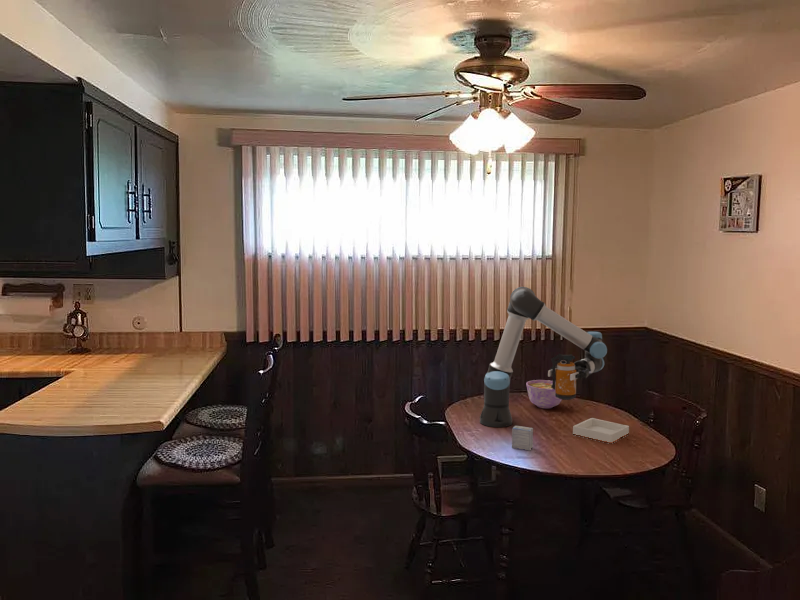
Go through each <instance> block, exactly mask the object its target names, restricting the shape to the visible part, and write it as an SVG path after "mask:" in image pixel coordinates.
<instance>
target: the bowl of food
mask: <svg viewBox="0 0 800 600" xmlns="http://www.w3.org/2000/svg"><path fill="white" fill-rule="evenodd" d="M552 382H553V380H549V379H548V380H545V379H536V380H535V379H533V380H529V381H526V389H527V395H528V398H529V401H530V402H531V403H532V404H533V405H535V406H537V407H538V408H539V409H552V408H553V407H556V406H558V405H559V404H560V403H561V402H562V400H563V399H559V398H557V397H556V396H555V390H554V389H553V388H551V386H552ZM555 383H556V380H555Z"/></svg>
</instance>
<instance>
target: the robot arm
mask: <svg viewBox="0 0 800 600" xmlns="http://www.w3.org/2000/svg"><path fill="white" fill-rule="evenodd" d="M506 309H507V310H506V312H507V314H508V317H507V319H506V323H505V326H504V329H503V333H502V334H501V335H502V336H501V339H500V341H499V345H498V348H497V350H496V351H497V352H496V354H495V357H494V360H493V362H490V363H489V365H488V370H487V372H486V373H485V376H484V378H483V381H484V391H483V392H484V395H483V408H482V410H481V413H480V416H479V423H480V424H481V425H483V426H486V427H490V428H491V427H493V428H505V427H510V426H512V424H513V418H512V413H511V411H510V386H511V385H510V384H511V378H512V375H513V372H514V371H513V368H512V365H513V362H514V359H515V356H516V353H517V349H518V346H519V343H520V341H521V338H522V334H523V332H524V331H523V330H524V328H525V325H526V323H527V321H528V320H529V319H530V320H532V321H537V322H539V323H540V324H542V325H544V326H546V327H547V328H548V329H550V330H551V331H553V332H555V333H556V334H558V335H559V336H561V337H563V338H564V339H566V340H568V341H569V342H571V343H573V344H574V345H576V346H577V347H579V348H580V349H582V350H583V351H584V358H582V359H580V360H576V361H574V362H573V363H574V364H575V370H576V373H573V374H570V380H571V381H572V380H575V379H576V380H578V379H582V378H583V379H587V378H588V377H589V376H591V375H592V374H593V373H598V372H599V371H601V370H602V369H603V368H604V366H605V360H604V357H605V356H606V355H607V353H608V347H607V345H606V343H605V342H604V341H603V334H602V333H601V332H600V331H585V330H583V329H582V328H581V327H579V326H578V325H576V324H574V323H573V322H571V321H569V320H568V319H566V318H565V317H564V316H562V315H560V314H559V313H557V312H556V311H554V310H552V309H551V308H549V307H547V306H546V303H545V302H544V301H542V300H541V299H540V298H539V297H537V296H536V294H535V292H534V291H533V290H532V289H531V288H529V287H526V286H519V287H517V288H515V289H514V290H513V291H512V293H511V294H510V300H509V303H508V307H507V308H506ZM556 369H557V365H555V376H556ZM547 377H549V378H550V377H553V371H552V366H551V367H550V369H549V370H547Z"/></svg>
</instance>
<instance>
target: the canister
mask: <svg viewBox="0 0 800 600" xmlns="http://www.w3.org/2000/svg"><path fill="white" fill-rule="evenodd" d="M575 359H576V357H575V356H574V355H573V354H561V353H558V354H556V355H555V356H553V357H552V358H550V361H551V364H552V366H551V367H552V371H553V376H552V381H553V382H552V386H551V388H553V389H554V390H555V396H556V397H557V398H559V399H562V400H563V401H572V400H573V399H575V398H577V379H575V380H572V381H571V380H570V374H573V373H576V370H575V364H574V363H575V362H572V361H573V360H575ZM556 366H557V369H556V375H555V367H556ZM555 381H556V383H555Z"/></svg>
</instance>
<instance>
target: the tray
mask: <svg viewBox="0 0 800 600" xmlns="http://www.w3.org/2000/svg"><path fill="white" fill-rule="evenodd" d="M628 433H629V434H630V426H629V425H627V424H622V423H617V422H613V421H608V420H605V419H604V420H603V419H598V418H595V417H591V418H588V419H586V420H584V421H581V422H579V423H577V424H575V425H573V426H572V435H573V434H576V435H581V436H585V437H589V438H593V439H598V440H602V441H607V442H613V441H615V440H617V439H619V438H620V437H622V436H624V435H626V434H628ZM576 435H575V436H576Z"/></svg>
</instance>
